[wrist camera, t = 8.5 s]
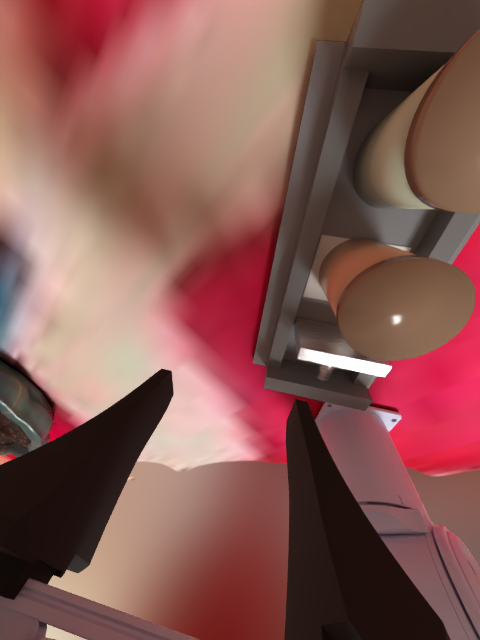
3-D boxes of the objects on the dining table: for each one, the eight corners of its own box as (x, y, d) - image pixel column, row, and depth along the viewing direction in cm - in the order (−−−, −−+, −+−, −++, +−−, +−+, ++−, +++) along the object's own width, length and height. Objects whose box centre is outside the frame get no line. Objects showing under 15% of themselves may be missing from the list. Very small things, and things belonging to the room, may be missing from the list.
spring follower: (349, 364, 19) (366, 403, 15) (286, 351, 19) (287, 386, 16) (367, 330, 17) (392, 366, 13) (296, 317, 17) (301, 348, 14)
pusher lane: (365, 382, 21) (381, 414, 17) (253, 358, 22) (248, 384, 19) (569, 66, 9) (719, -8, 6) (315, 51, 11) (330, -18, 7)
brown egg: (418, 215, 13) (547, 223, 6) (338, 205, 13) (388, 202, 7) (475, 105, 10) (775, -52, 4) (373, 97, 10) (500, -55, 4)
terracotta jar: (370, 308, 16) (424, 370, 10) (308, 295, 16) (324, 347, 10) (406, 243, 13) (511, 274, 7) (332, 230, 14) (372, 248, 8)
